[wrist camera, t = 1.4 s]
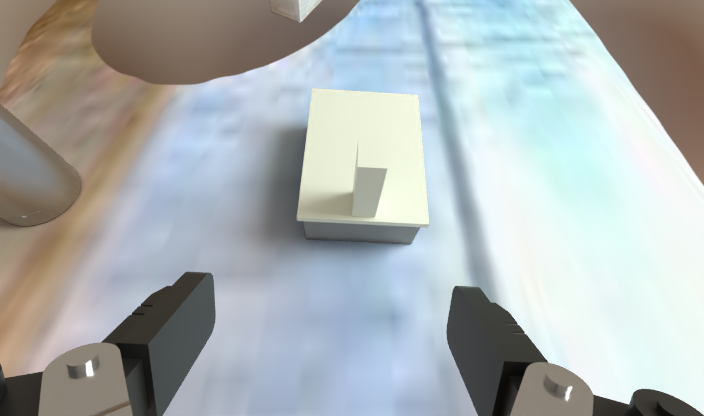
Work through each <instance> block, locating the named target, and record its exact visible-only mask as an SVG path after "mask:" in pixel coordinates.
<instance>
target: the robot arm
mask: <svg viewBox="0 0 704 416" xmlns="http://www.w3.org/2000/svg"><path fill="white" fill-rule="evenodd" d="M80 189H81V179H80V175H79V174H78V172H77V171H76V170H75V169H74V168H73V167H71V166H70V165H69V164H68V163H67V162H66V161H65V160H64V159H63V158H62V157H61V156H60V155H59V154H57V153H56V152H55V151H54V150H53V149H52V148H51V147H49V146H48V145H47V144H46V143H45V142H44V141H43V140H41V139H40V138H39V137H38V136H37V135H36V134H34V133H33V132H32V131H31V130H30V129H29V128H28V127H26V126H25V125H24V124H23V123H22V122H21V121H20V120H18V119H17V118H16V117H15V116H14V115H13V114H12V113H10V112H9V111H8V110H7V109H5V108H4V107H3V106H2V105H1V104H0V218H1V219H3V220H5V221H7V222H9V223H11V224H14V225H18V226H32V225H38V224H41V223H45V222H47V221H49V220H52V219H54V218H55V217H57V216H59V215H60V214H62V213H63V212H64V211H66V210H67V209H68V208H69V207H70V206H71V205H72V204H73V202H74V201H75V200H76V198H77V196H78V195H79V192H80ZM214 324H215V298H214V281H213V276H212V274H211V273H202V272H185V273H184V274H183V275H182V276H181V277H180V278H179V279H178V280H177V281H176V282H175V283H174V284H173V285H172V286H166V287H164V288H163V289H161V290H159V291H157V292H155V293H153V294H151V295H150V296H149V297H148V298H147V299H146V300H145V301H144V302H143V303H142V304H141V306H139V307H138V308H137V309H136V310H135V311H134V312H133V313H132V315H129V316H128V317H127V318H126V319H125V320H124V321H123V322H122V323H121V324H120V325H119V326H118V327H117V328H116V329H115V330H114V331H113V332H112V333H111V334H109V335H108V336H107V337H106V338H105V339H104V340H103V341H102V342H101V343H93V344H88V345H84V346H80V347H77V348H75V349H72V350H70V351H68V352H66V353H64V354H62V355H61V356H59V357H57V358H56V359H55V360H53V361H52V362H51V363H50V364H49V365H48V366H47V367H46V369H45V370H44V372H38V373H33V374H27V375H21V376H15V377H9V378H4V374H3V371H2V367H1V364H0V416H163V414H164V412H165V411H166V409H167V407H168V406H169V404H170V402H171V401H172V399H173V397H174V396H175V394H176V392H177V391H178V389H179V387H180V386H181V384H182V382H183V381H184V379H185V377H186V376H187V374H188V372H189V371H190V369H191V367H192V366H193V364H194V362H195V361H196V359H197V357H198V356H199V354H200V352H201V351H202V349H203V347H204V346H205V344H206V342H207V341H208V339H209V337H210V336H211V334H212V331H213V328H214ZM447 341H448V345H449V348H450V350H451V352H452V355H453V357H454V360H455V362H456V364H457V367H458V369H459V371H460V374H461V376H462V379H463V381H464V383H465V386H466V388H467V390H468V393H469V395H470V397H471V400H472V402H473V405H474V407H475V409H476V412H477V414H478V416H704V415H703V414H701V413H700V412H699V411H697V410H696V409H695V408H693V407H692V406H690V405H689V404H687V403H685V402H683V401H681V400H680V399H678V398H675V397H673V396H671V395H668V394H666V393H663V392H660V391H656V390H651V389H639V390H637V391H635V392H634V393H633V396H632V398H631V401H630V404H625V403H621V402H618V401H614V400H610V399H607V398H603V397H599V396H596V395H593V393H592V391H591V389H590V388H589V386H588V385H587V384H586V383H585V382H584V381H583V380H582V379H581V378H580V377H578V376H577V375H575V374H574V373H572V372H571V371H569V370H567V369H565V368H563V367H560V366H558V365H555V364H551V363H548V361H547V360H546V359H545V358H544V356H543V355H542V354H541V353H540V351H539V350H538V349H537V347H536V346H535V345H534V344H533V342H532V341H531V340H530V339H529V337H528V336H527V335H526V334H524V331H523V330H522V328H521V327H520V326H519V325H517V322H516V321H515V319H514V318H513V317H512V316H511V314H510V313H509V312H508V311H506V310H505V309H503V308H502V307H501V306H499V305H498V304H496V303H491V302H490V301H489V300H488V298H487V297H486V296H485V294H484V293H483V291H482V290H481V289H480V288H479V287H467V286H455V287H454V289H453V293H452V299H451V305H450V311H449V317H448V323H447Z"/></svg>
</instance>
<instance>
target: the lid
mask: <svg viewBox="0 0 704 416" xmlns="http://www.w3.org/2000/svg"><path fill="white" fill-rule="evenodd" d="M297 221H309V222H328V223H347V224H367V225H386V226H405V227H425V228H427V227H428V226H429V216H428V205H427V193H426V181H425V169H424V158H423V146H422V134H421V122H420V111H419V99H418V95H409V94H393V93H378V92H362V91H347V90H331V89H316V88H312V95H311V103H310V112H309V120H308V128H307V136H306V145H305V153H304V161H303V169H302V178H301V186H300V194H299V202H298V211H297Z"/></svg>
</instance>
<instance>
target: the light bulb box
mask: <svg viewBox="0 0 704 416" xmlns="http://www.w3.org/2000/svg"><path fill="white" fill-rule="evenodd" d="M269 1H270V7H271V12H273V13H275V14H278V15H281V16H283V17H286V18H289V19H291V20H294V21H296V22H299V23H301V21H302V20H303V19H304V18H305V17H306V16H307V15H308V14H309V13H310V12H311V11H312V10H313V9H314V8H315V7H316V6H317V5H318V4H319V3H320V2H321V1H322V0H269Z"/></svg>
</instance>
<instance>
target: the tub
mask: <svg viewBox="0 0 704 416" xmlns="http://www.w3.org/2000/svg"><path fill="white" fill-rule="evenodd" d="M303 223H304V229H305V236H306V239H316V240H336V241H356V242H376V243H396V244H411V243H412V242H413V240H414V238H415V236H416V234H417V232H418V230H419V229H420V227H405V226H386V225H367V224H347V223H328V222H309V221H303Z"/></svg>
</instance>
